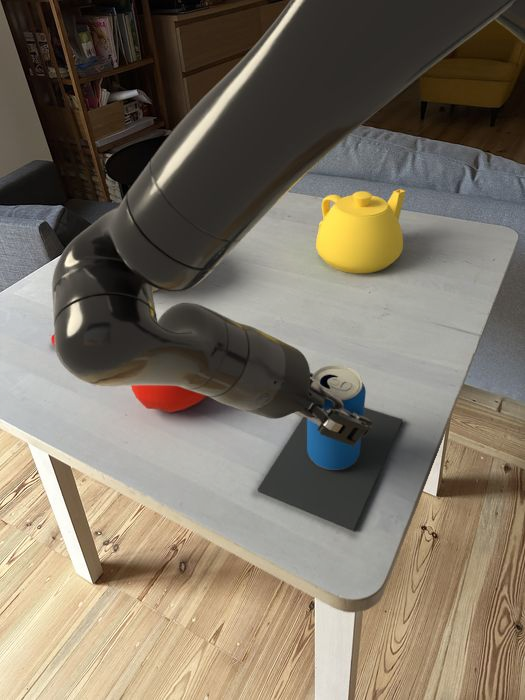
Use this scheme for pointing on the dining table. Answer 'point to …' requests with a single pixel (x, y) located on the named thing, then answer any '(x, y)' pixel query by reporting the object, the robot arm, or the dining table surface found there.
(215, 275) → the dining table surface
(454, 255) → the dining table surface
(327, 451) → the beverage can
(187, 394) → the tomato
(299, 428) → the place mat
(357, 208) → the teapot
